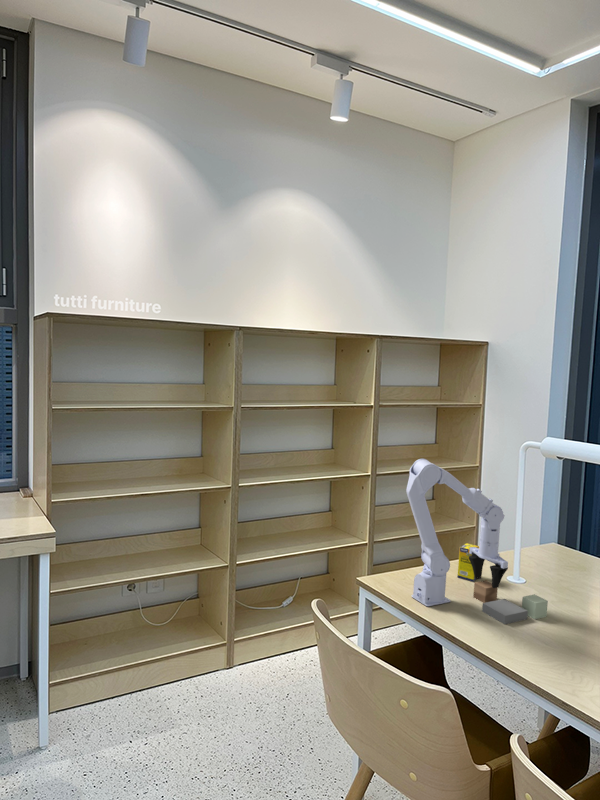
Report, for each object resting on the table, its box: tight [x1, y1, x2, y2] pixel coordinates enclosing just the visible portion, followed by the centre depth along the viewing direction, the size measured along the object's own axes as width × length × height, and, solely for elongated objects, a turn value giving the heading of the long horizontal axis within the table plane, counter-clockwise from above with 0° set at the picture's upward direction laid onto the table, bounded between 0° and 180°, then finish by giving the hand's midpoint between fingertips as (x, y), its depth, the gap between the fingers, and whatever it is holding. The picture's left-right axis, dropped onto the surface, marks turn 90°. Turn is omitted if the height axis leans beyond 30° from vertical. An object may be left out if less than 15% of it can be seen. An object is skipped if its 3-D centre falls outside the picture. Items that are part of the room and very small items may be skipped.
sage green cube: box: [521, 594, 549, 620], centre depth 178 cm, size 5×5×5 cm
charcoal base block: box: [481, 598, 528, 625], centre depth 177 cm, size 9×9×3 cm
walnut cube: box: [472, 579, 499, 604], centre depth 188 cm, size 5×5×5 cm
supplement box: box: [457, 542, 479, 583], centre depth 206 cm, size 6×6×11 cm
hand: (486, 582), depth 188 cm, fingers open, 7 cm apart
